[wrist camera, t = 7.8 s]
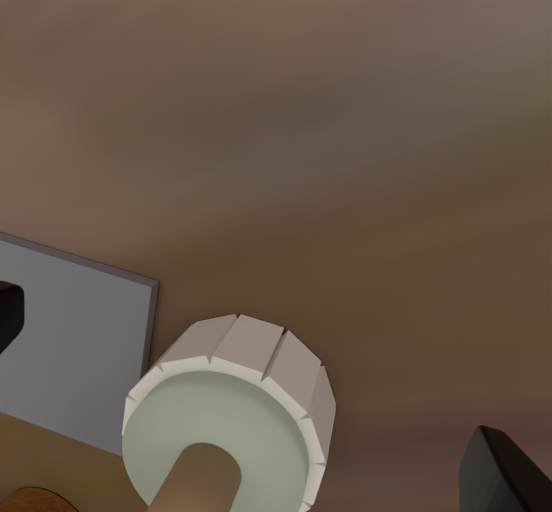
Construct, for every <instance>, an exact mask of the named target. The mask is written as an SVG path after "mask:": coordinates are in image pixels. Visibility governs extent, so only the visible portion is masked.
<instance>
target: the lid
mask: <svg viewBox="0 0 552 512" xmlns="http://www.w3.org/2000/svg"><path fill="white" fill-rule="evenodd" d="M122 453H123V460H124V464H125V468H126V471H127V473H128V476H129V478H130V480H131V482H132V484H133V486H134V488H135V489H136V491H137V492H138V493H139V495H140V496H141V498H142V499H143V500H144V501H145V502H146V504H147V505H148V506H149V507H148V509H147V511H146V512H299V509H300V507H301V504H302V500H303V496H304V491H305V487H306V482H307V477H308V473H309V457H308V450H307V446H306V443H305V440H304V437H303V435H302V433H301V430H300V429H299V427H298V425H297V424H296V422H295V420H294V419H293V418H292V416H291V415H290V414H289V412H288V411H287V410H286V409H285V408H284V407H283V406H282V405H281V404H280V403H279V402H278V401H277V400H276V399H275V398H273V397H272V396H271V395H270V394H269V393H267V392H266V391H264V390H263V389H261V388H259V387H258V386H256V385H254V384H252V383H250V382H248V381H246V380H244V379H241V378H238V377H236V376H233V375H229V374H225V373H220V372H213V371H192V372H186V373H181V374H177V375H175V376H172V377H170V378H167V379H166V380H164V381H162V382H161V383H159V384H158V385H157V386H156V387H154V388H153V389H152V390H151V391H150V392H149V394H148V395H147V396H146V397H145V398H144V400H143V401H142V402H141V403H140V404H139V406H138V407H137V408H136V409H135V411H134V412H133V413H132V415H131V416H130V418H129V420H128V421H127V424H126V427H125V429H124V434H123V439H122Z"/></svg>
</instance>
